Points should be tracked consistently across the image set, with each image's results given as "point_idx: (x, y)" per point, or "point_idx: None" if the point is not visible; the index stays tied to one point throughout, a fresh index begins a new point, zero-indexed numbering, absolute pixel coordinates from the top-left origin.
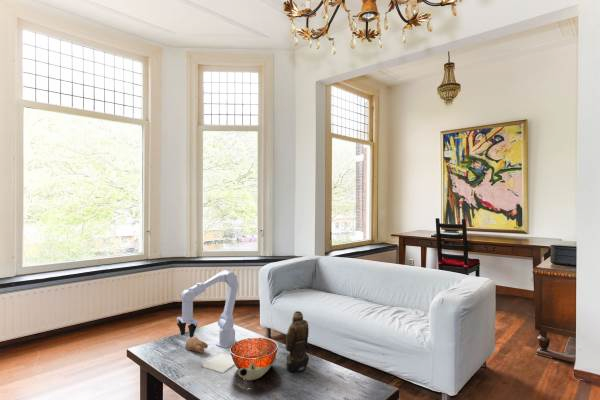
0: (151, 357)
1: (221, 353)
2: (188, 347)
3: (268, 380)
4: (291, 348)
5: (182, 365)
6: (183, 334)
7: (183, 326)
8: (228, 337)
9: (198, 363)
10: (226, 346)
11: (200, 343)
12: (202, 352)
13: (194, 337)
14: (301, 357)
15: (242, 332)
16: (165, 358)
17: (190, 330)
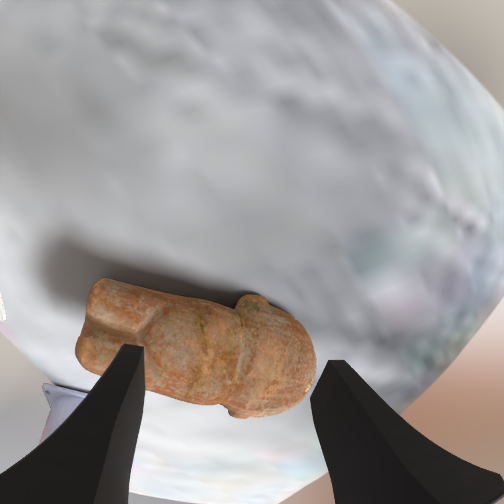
0: (462, 115)
1: (2, 319)
2: (254, 313)
3: None
4: None
5: (127, 49)
6: (318, 383)
7: (360, 496)
8: (40, 441)
9: (28, 141)
10: (51, 393)
11: (93, 343)
12: (91, 288)
13: (252, 414)
14: None
15: None
16: (365, 115)
17: (52, 449)
